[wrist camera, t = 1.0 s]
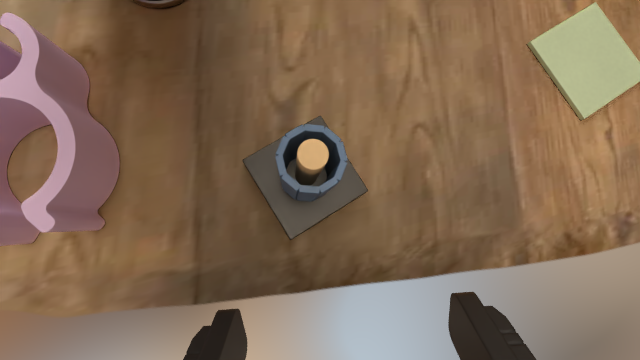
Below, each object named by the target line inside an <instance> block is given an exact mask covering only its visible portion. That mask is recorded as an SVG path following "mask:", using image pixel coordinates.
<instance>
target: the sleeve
mask: <svg viewBox="0 0 640 360" xmlns="http://www.w3.org/2000/svg"><path fill="white" fill-rule="evenodd" d="M308 139H317V140H320V141H322V142H323V143H324V144H325V145H326V146H327V148H328V151H329V158H328V161H327V163H326V165H325V170H326V174H327V179H326V181H325V183H323V184H322V185H320V186H309V185H300V184H299V183H298V182H297V181H296V180H294V179H293V178H292V177H291V176H290V175H288V174H287V172H286V170H287V167H288V165H289V163H290V161H292V160H294V159H295V158H297V151H298V148H299V146H300V145H301V143H303V142H304V141H306V140H308ZM340 141H341V139H340V138H339V137H338V136H337V135H336V134H334V133H333V132H332V131H331V130H330V129H328V128H327V127H325V128H324V126H321V125H311V124H304V126H303V125H300V126H298V127H296V128H295V129H293V130H291V131H289V132H288V133H286V134H285V136H283V138H282V140H281V142H280V144H279V147H278V149H277V151H276V156H275V158H276V163H277V167H278V171H279V176H280V180H281V184H282V188H283V189H284V191H285V192H286V193H288V194H289V195H290V196H291V197H292V198H293V199H296V198H297V201H310V202H311V201H315V200H316V199H318V198H319V197H321V196H323V195H324V194H326V193H327V192H328V191H329V190H331V189H332V188H333V187H334V186H335V185H337V184H338V183H339V181H340V180H341V178H342V175H343V173H344V170H345V168H346V165H347V162H346V161H347V156H346V152H345V148H344V145H343V141H341V142H340Z"/></svg>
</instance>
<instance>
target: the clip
mask: <svg viewBox="0 0 640 360" xmlns="http://www.w3.org/2000/svg"><path fill="white" fill-rule="evenodd" d="M0 24H1V25H2V26H3V27H5V28H6V29H8V30H9V31H11V32H12V33H13V34H15V35H16V36H17V37H18V39H19V41H20V43H21V47H22V54H20V53H19V52H17V51H15V50H14V49H12V48H11V47H9V46H7V45H6V44H4V43H3V42H1V41H0V246H5V245H18V244H30V243H33V242H34V241H35V239H36V238H37V236H38V235H39V233H40V231H41V232H66V231H93V230H100V229H101V228H102V227H103V226H104V225H105V220H104V219H103V218H102V217H101V216H100V215H99V214H98V209H99V208H100V207H101V206H102V205H103V204H104V202H105V201H106V200H107V199H108V197H109V196H110V194H111V193H112V191H113V189H114V187H115V185H116V182H117V179H118V175H119V168H120V159H119V153H118V149H117V146H116V143H115V141H114V139H113V138H112V136H111V135H110V133H109V132H108V131H107V130H106V129H105V128H104V127H103V126H102V125H101V124H100V123H98V122H97V121H96V120H94V119H93V118H92V116H91V115H90V113H89V111H88V108H87V98H88V94H89V89H90V83H89V78H88V75H87V72H86V71H85V69H84V68H83V66H82V65H81V64H80V63H79V62H78V61H77V60H75V59H74V58H73V57H71V56H70V55H69V54H67V53H66V52H65V51H63V50H62V49H61V48H59V47H58V46H57V45H56V44H54V43H53V42H52V41H50V40H49V39H48V38H46V37H45V36H44V35H42V34H41V33H40V32H38V31H37V30H36V29H35V28H33V27H32V26H31V25H29V24H28V23H27V22H25V21H24V20H23V19H21V18H20V17H18V16H16V15H14V14H12V13H5V14H3V15H2V17H1V19H0ZM50 124H52V126H53V128H54V130H55V133H56V136H57V142H58V154H57V160H56V163H55V166H54V169H53V171H52V173H51V175H50V177H49V178H48V180H47V181H46V182H45V184H44V185H43V186H42V187H41V188H40V189H39V190H38V191H37V192H36V193H35V194H34V195H32V196H31V197H29V198H28V199H26V200H25V201H23V203H20V202H19V201H18V200H17V199H16V197H15V196H14V195H13V193H12V191H11V190H10V187H9V184H8V180H7V165H8V161H9V158H10V155H11V153H12V151H13V150H14V148H15V147H16V145H17V144H18V143H19V142H20V141H21V140H22V139H23V138H24V137H25V136H26V135H28V134H29V133H30V132H32V131H34V130H36V129H38V128H40V127H43V126H46V125H50Z"/></svg>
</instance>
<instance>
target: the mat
mask: <svg viewBox="0 0 640 360" xmlns="http://www.w3.org/2000/svg"><path fill="white" fill-rule="evenodd" d="M527 45H528V46H529V48H530V49H531V51H532V52H533V53H534V55H535V56H536V58H537V59H538V60H539V62H540V63H541V65H542V66H543V68H544V69H545V70H546V72H547V73H548V75H549V76H550V78H551V79H552V80H553V82H554V83H555V85H556V86H557V87H558V89H559V90H560V92H561V93H562V95H563V96H564V97H565V99H566V100H567V102H568V103H569V105H570V106H571V107H572V109H573V110H574V112H575V113H576V114H577V116H578V117H579V119H580V120H583V119H585V118H587V117H588V116H590V115H591V114H593V113H594V112H596V111H597V110H599V109H600V108H601V107H603V106H604V105H606V104H607V103H609V102H610V101H612V100H613V99H615V98H616V97H618V96H619V95H621V94H622V93H623V92H625V91H626V90H628V89H629V88H631V87H632V86H634V85H635V84H637V83H638V82H640V62H639V61H638V60H637V58H636V57H635V55H634V54H633V53H632V51H631V50H630V49H629V47H628V46H627V44H626V43H625V42H624V40H623V39H622V38H621V36H620V35H619V34H618V32H617V31H616V29H615V28H614V27H613V25H612V24H611V23H610V21H609V20H608V18H607V17H606V16H605V14H604V13H603V12H602V10H601V9H600V8H599V6H598V5H597V3H596V2H595V3H593V4H592V5H590V6H588V7H587V8H585V9H583V10H582V11H580V12H578V13H577V14H575V15H573V16H572V17H570V18H568V19H567V20H565V21H563V22H562V23H560V24H558V25H557V26H555V27H553V28H552V29H550V30H548V31H547V32H545V33H543V34H542V35H540V36H538V37H537V38H535V39H534V40H532V41H530V42H529V43H528V44H527Z"/></svg>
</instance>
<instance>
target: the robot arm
mask: <svg viewBox="0 0 640 360" xmlns="http://www.w3.org/2000/svg"><path fill="white" fill-rule="evenodd" d="M133 1H134V2H136V3H138V4H140V5H143V6H146V7H151V8H166V7H171V6H174V5H176V4H179V3H181V2H182V1H184V0H133ZM449 332H450V336H451V339H452V342H453V344H454V346H455V349H456V351H457V353H458V355H459V357H460V359H461V360H536V358H535V357H534V356H533V354H532V353H531V351H530V350H529V349H528V347H527V346H526V344H524V343H523V340H522V339H521V338H520V336H519V335H518V333H516V331H515V329H514V327H513V326H512V325H511V323H510V322H509V320H508V319H507V318H506V316H504V315H503V314H502V313H500V312H499V311H498V310H497V309H495V308H494V307H493V306H483V304H482V303H481V301H480V300H479V298H478V297H477V295H476V294H475V293H474V292H463V293H452V294H451V298H450V311H449ZM246 353H247V337H246V333H245V329H244V325H243V321H242V318H241V313H240V310H239V309H229V310H218V311H217V313H216V315H215V317H214V320H213V322H212V325H211V326H203V327H202V329H201V330H200V331H199V332H198V333H197V334H196V336H195V337H194V338H193V339H192V341H191V344H190V346H189V348H188V350H187V354H186V355H185V357H184V359H183V360H245V358H246Z"/></svg>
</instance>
